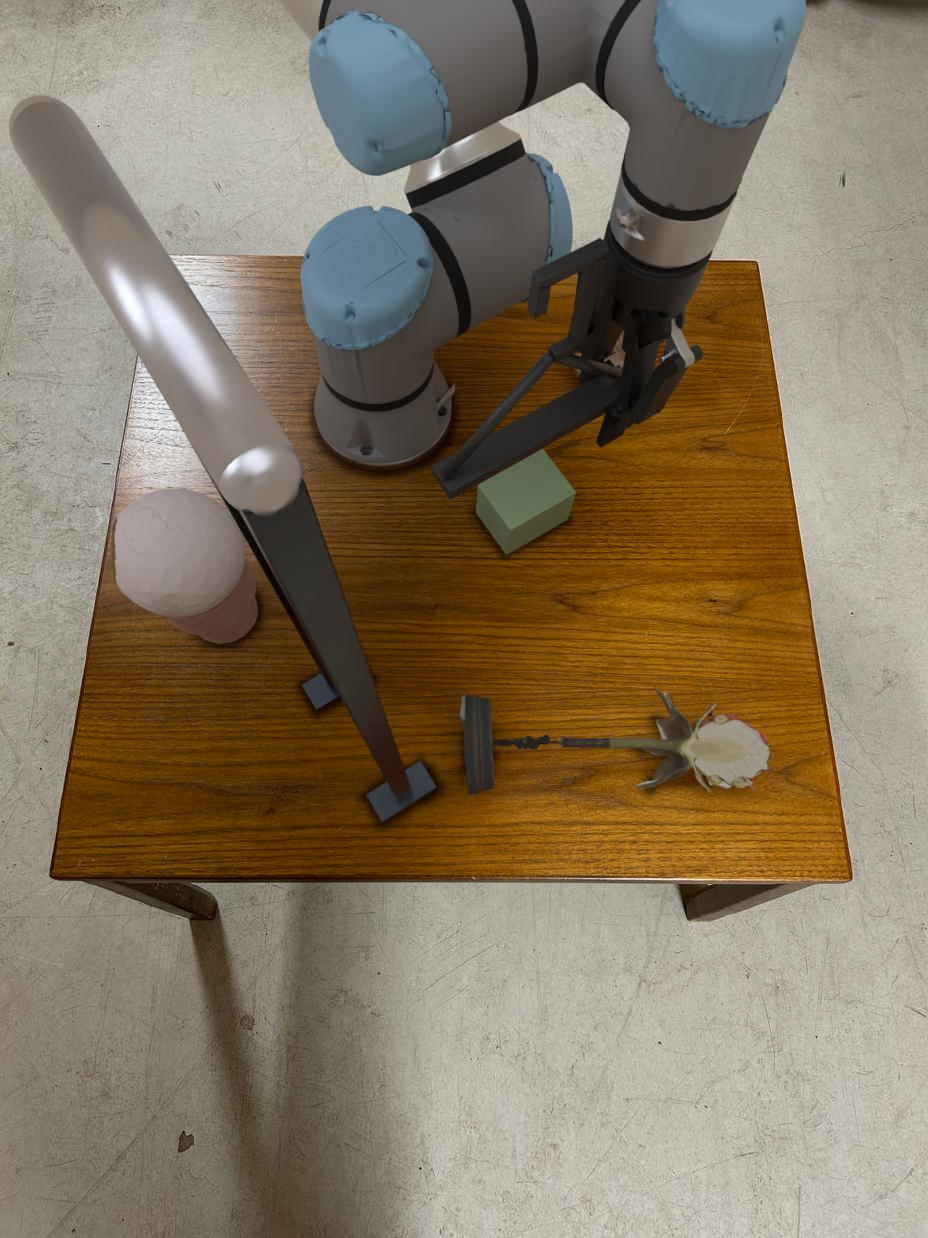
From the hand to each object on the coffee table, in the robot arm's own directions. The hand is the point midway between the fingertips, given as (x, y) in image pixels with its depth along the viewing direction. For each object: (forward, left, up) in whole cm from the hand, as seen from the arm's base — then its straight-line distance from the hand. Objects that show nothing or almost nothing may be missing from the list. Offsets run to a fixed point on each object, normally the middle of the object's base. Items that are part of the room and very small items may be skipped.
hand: (598, 424), depth 75 cm
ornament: (+25, -15, -11) cm, 31 cm away
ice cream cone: (-7, -40, -11) cm, 42 cm away
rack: (+12, -34, -11) cm, 38 cm away
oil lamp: (-11, +13, -11) cm, 20 cm away
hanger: (0, -8, +5) cm, 9 cm away
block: (0, -8, -11) cm, 13 cm away
